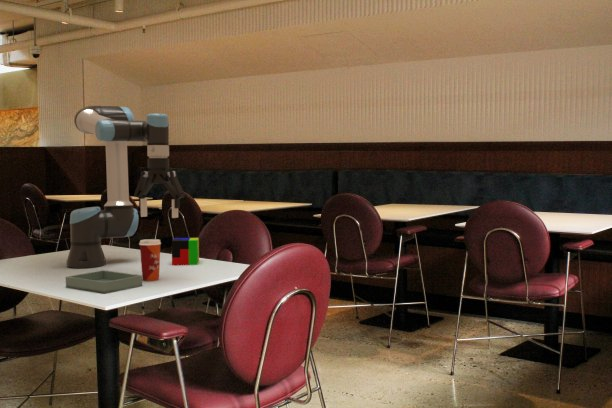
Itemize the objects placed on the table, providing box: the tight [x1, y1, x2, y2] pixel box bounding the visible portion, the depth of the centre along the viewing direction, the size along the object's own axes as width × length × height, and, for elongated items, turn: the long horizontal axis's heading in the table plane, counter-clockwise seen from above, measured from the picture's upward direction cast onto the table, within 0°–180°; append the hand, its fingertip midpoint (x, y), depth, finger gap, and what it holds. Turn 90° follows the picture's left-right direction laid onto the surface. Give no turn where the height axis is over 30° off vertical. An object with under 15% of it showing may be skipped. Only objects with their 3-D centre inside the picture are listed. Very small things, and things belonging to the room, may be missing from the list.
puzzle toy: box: [171, 237, 200, 266], centre depth 278 cm, size 10×10×10 cm
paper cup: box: [138, 238, 162, 282], centre depth 241 cm, size 8×8×14 cm
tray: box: [65, 270, 143, 294], centre depth 228 cm, size 20×16×4 cm
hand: (159, 217), depth 243 cm, fingers open, 13 cm apart
